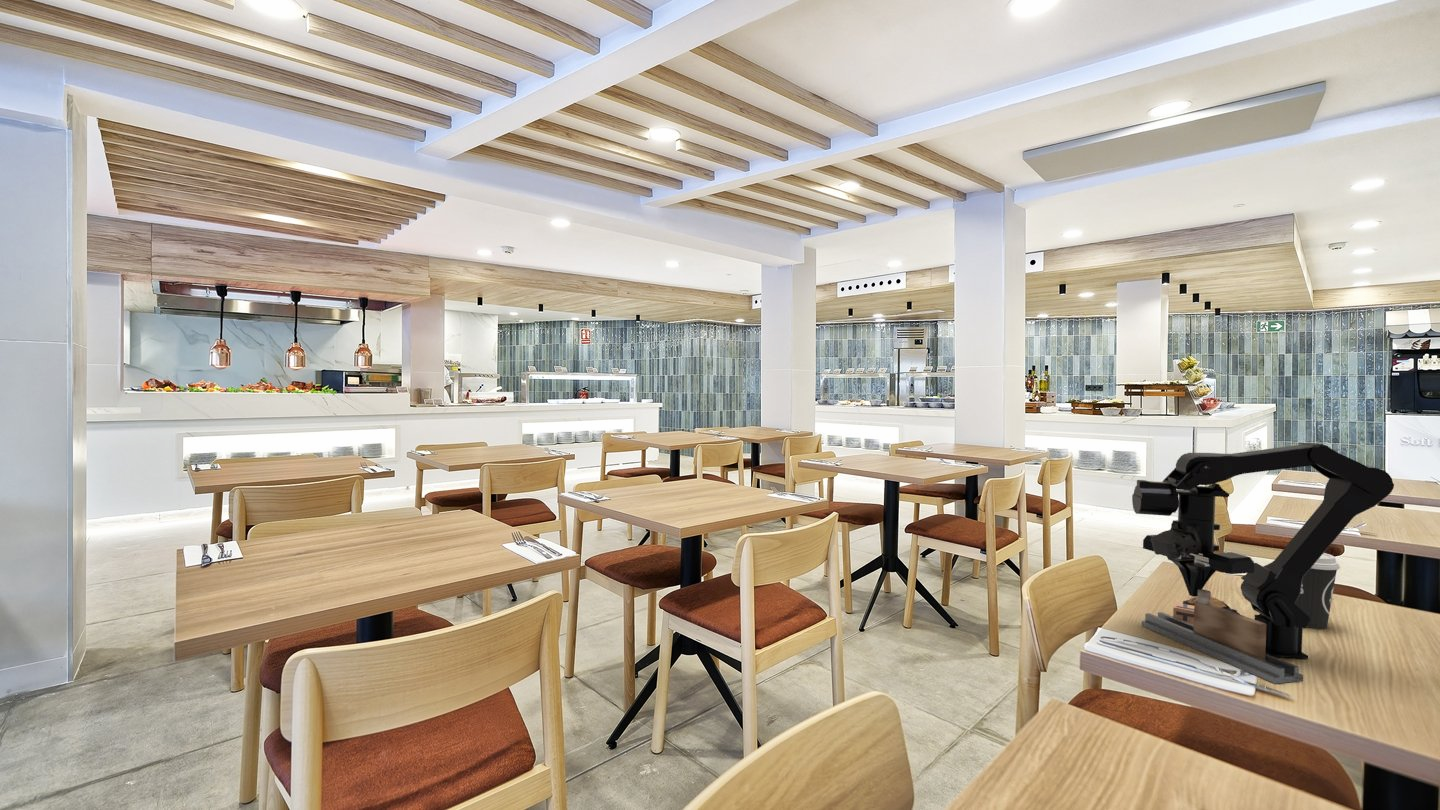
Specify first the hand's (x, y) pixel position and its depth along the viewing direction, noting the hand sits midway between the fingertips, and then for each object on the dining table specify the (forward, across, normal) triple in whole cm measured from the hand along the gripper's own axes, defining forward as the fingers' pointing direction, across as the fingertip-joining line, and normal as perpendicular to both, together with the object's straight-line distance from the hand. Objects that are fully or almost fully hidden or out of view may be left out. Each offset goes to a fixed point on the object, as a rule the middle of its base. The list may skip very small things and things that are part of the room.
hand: (1193, 596), depth 123 cm
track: (+9, +4, 0) cm, 10 cm away
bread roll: (+10, -13, +20) cm, 25 cm away
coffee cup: (+9, -4, +33) cm, 35 cm away
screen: (+8, +7, 0) cm, 10 cm away
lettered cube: (+9, -7, +6) cm, 13 cm away
